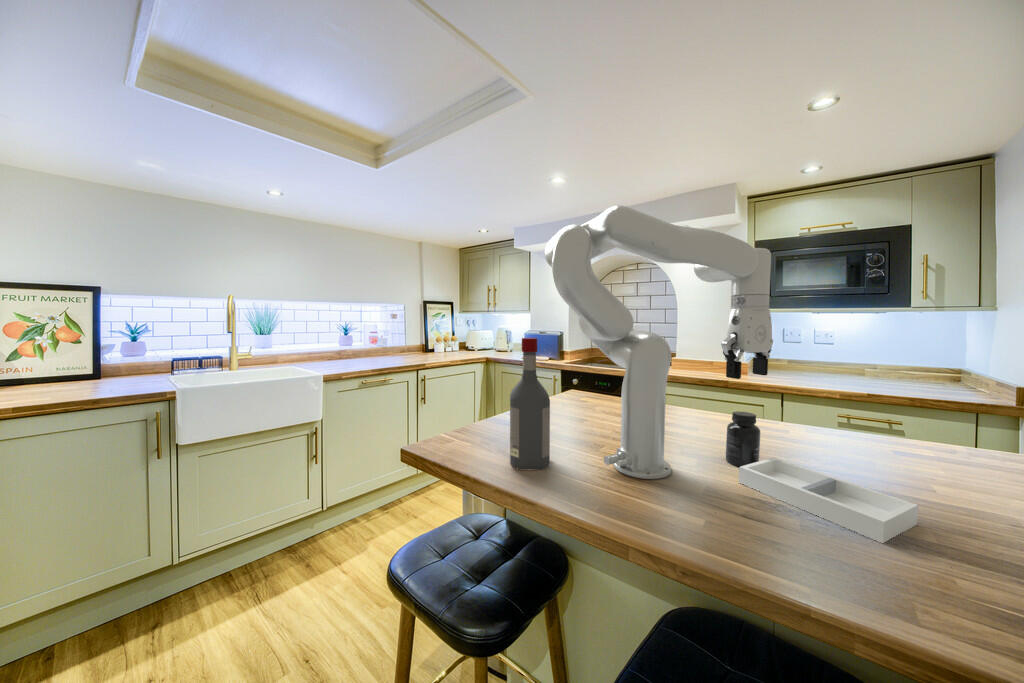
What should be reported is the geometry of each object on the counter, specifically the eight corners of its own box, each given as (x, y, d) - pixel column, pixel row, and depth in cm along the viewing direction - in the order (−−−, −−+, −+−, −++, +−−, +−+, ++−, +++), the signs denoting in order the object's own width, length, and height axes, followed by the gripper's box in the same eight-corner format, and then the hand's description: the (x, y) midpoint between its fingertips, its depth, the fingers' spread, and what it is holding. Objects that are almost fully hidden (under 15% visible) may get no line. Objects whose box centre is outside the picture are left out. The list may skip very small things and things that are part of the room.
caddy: (882, 543, 58) (884, 522, 58) (738, 482, 79) (739, 466, 78) (916, 524, 63) (918, 504, 63) (773, 472, 84) (773, 457, 84)
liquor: (546, 455, 94) (546, 337, 92) (550, 470, 85) (551, 339, 83) (510, 455, 94) (509, 337, 92) (510, 470, 85) (510, 339, 83)
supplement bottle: (764, 469, 85) (766, 418, 84) (731, 467, 87) (733, 416, 86) (751, 458, 92) (753, 410, 91) (721, 456, 93) (723, 409, 92)
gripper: (741, 302, 79) (738, 382, 81) (789, 302, 87) (785, 375, 88) (709, 303, 86) (707, 377, 87) (756, 303, 93) (753, 371, 95)
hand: (746, 376), depth 88 cm, fingers open, 9 cm apart
